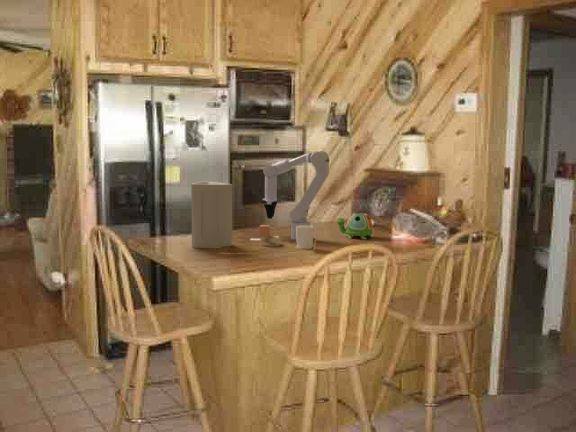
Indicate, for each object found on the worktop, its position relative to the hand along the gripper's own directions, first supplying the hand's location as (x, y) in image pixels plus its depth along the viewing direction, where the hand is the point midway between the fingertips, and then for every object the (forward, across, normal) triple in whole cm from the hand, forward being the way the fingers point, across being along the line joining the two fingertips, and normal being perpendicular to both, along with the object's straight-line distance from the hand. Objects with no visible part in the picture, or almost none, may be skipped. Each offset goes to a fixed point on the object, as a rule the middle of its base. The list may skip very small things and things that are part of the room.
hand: (270, 217), depth 291 cm
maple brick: (+9, +22, +2) cm, 24 cm away
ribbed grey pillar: (+10, +25, -26) cm, 37 cm away
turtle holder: (+10, -7, +42) cm, 44 cm away
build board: (+10, +16, 0) cm, 19 cm away
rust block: (+6, +22, 0) cm, 23 cm away
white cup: (+10, +27, +18) cm, 34 cm away
